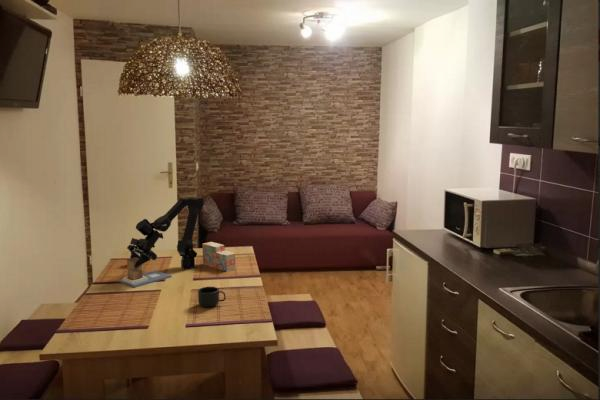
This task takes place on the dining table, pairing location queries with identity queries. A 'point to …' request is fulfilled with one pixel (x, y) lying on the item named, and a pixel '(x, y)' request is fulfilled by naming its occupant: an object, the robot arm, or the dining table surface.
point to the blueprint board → (145, 279)
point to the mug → (209, 296)
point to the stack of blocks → (218, 256)
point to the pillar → (134, 269)
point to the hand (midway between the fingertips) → (132, 266)
